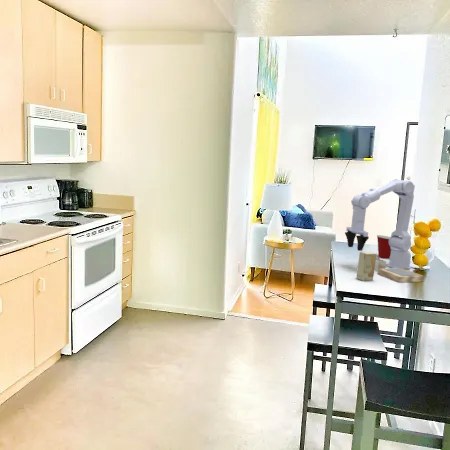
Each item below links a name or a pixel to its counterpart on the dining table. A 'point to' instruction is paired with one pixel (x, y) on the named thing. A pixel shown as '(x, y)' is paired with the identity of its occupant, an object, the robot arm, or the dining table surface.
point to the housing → (379, 264)
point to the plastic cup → (383, 247)
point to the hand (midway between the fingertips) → (355, 248)
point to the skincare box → (366, 266)
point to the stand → (400, 275)
